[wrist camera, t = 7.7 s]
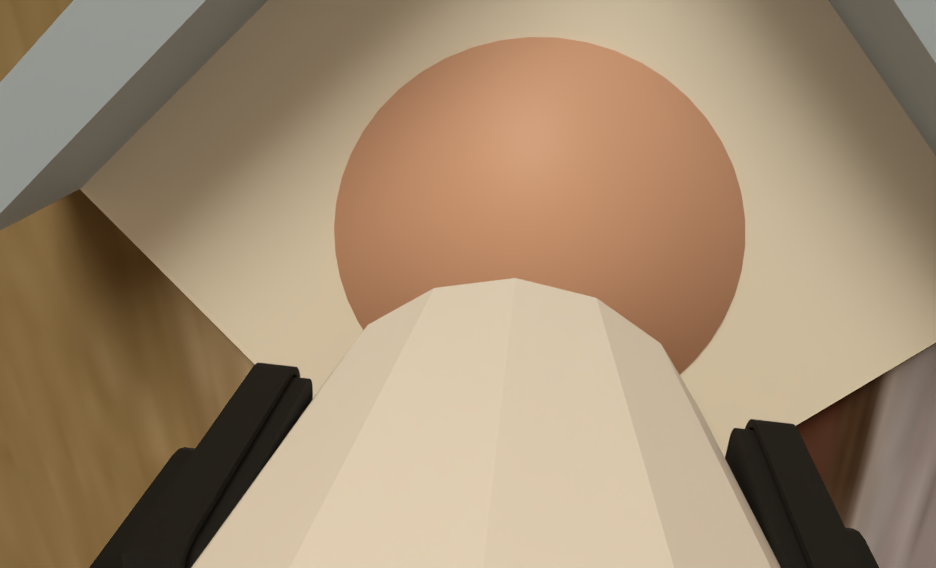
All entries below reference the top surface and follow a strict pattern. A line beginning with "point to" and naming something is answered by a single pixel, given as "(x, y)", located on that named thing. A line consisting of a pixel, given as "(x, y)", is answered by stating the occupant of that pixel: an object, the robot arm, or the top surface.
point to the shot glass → (497, 449)
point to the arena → (513, 170)
